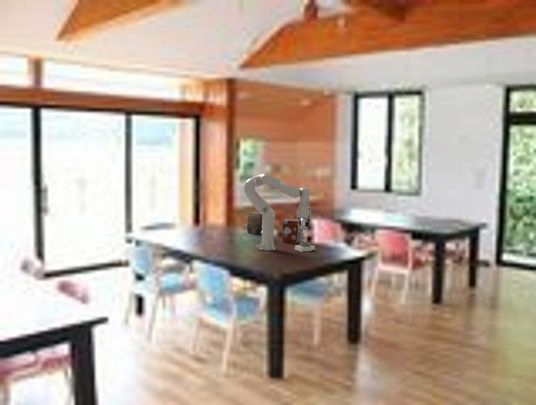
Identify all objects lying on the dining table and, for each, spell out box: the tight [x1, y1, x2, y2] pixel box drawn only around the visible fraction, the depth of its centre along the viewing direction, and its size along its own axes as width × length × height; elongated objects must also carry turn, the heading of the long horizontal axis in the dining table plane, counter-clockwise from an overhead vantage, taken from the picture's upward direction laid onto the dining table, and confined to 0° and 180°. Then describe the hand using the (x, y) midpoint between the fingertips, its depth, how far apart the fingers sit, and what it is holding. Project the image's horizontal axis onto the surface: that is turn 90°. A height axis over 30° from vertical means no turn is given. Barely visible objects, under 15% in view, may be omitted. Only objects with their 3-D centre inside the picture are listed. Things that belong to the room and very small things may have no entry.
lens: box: [300, 218, 308, 231], centre depth 447 cm, size 5×5×9 cm
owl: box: [246, 211, 263, 236], centre depth 527 cm, size 13×13×20 cm
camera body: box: [294, 241, 316, 253], centre depth 451 cm, size 13×9×6 cm
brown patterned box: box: [281, 218, 306, 244], centre depth 485 cm, size 9×19×20 cm, turn 78°
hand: (304, 226), depth 447 cm, fingers closed on lens, 5 cm apart
